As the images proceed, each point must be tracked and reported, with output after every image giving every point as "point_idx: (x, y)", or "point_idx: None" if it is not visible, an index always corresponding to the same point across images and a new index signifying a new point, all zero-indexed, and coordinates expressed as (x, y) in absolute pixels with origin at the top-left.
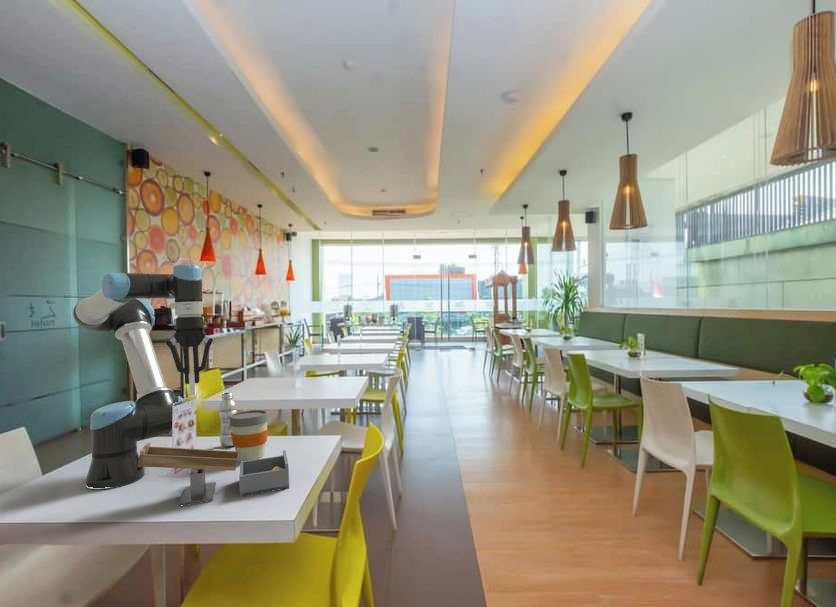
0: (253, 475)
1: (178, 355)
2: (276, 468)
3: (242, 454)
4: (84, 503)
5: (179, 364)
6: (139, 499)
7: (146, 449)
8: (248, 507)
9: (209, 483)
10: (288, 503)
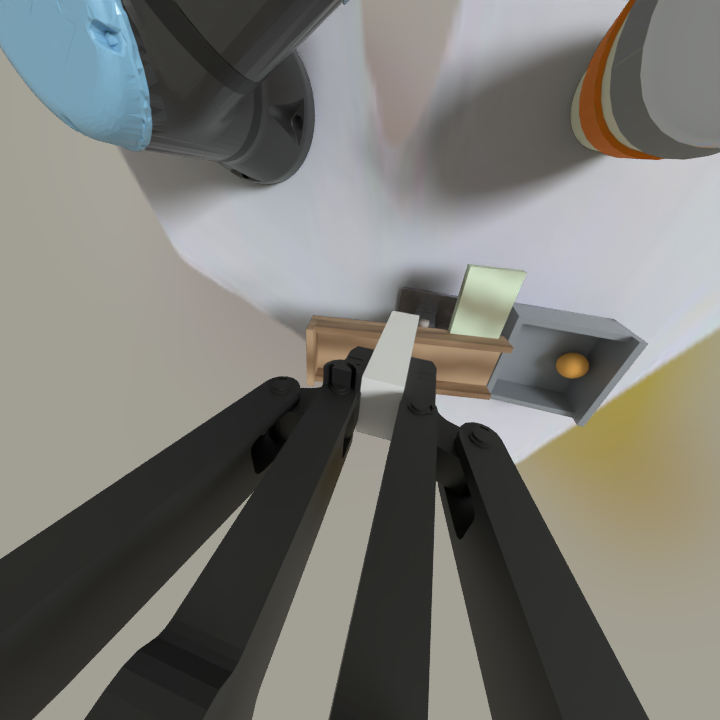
0: (508, 401)
1: (164, 525)
2: (572, 376)
3: (586, 139)
4: (252, 246)
5: (260, 475)
6: (332, 284)
7: (314, 360)
8: (476, 415)
9: (445, 298)
10: (529, 437)
